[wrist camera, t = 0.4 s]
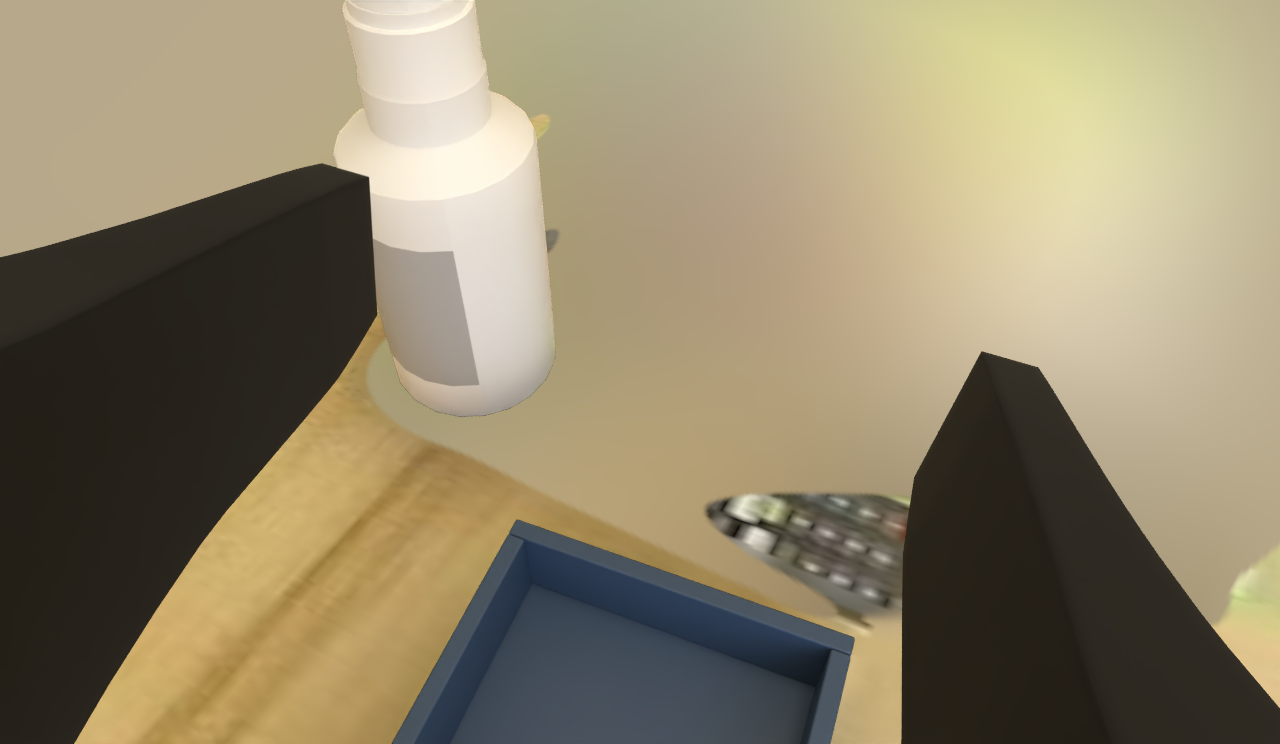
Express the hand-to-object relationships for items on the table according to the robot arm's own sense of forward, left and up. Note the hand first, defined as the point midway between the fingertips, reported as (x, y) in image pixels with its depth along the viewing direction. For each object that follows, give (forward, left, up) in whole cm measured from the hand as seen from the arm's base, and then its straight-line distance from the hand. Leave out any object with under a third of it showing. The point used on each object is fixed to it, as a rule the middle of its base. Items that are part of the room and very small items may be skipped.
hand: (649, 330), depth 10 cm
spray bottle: (+15, +13, -21) cm, 29 cm away
